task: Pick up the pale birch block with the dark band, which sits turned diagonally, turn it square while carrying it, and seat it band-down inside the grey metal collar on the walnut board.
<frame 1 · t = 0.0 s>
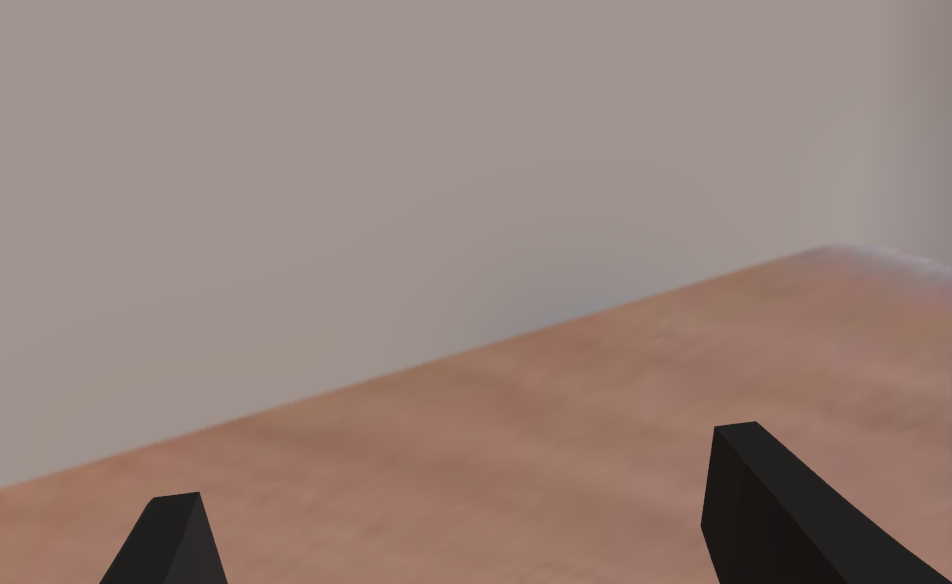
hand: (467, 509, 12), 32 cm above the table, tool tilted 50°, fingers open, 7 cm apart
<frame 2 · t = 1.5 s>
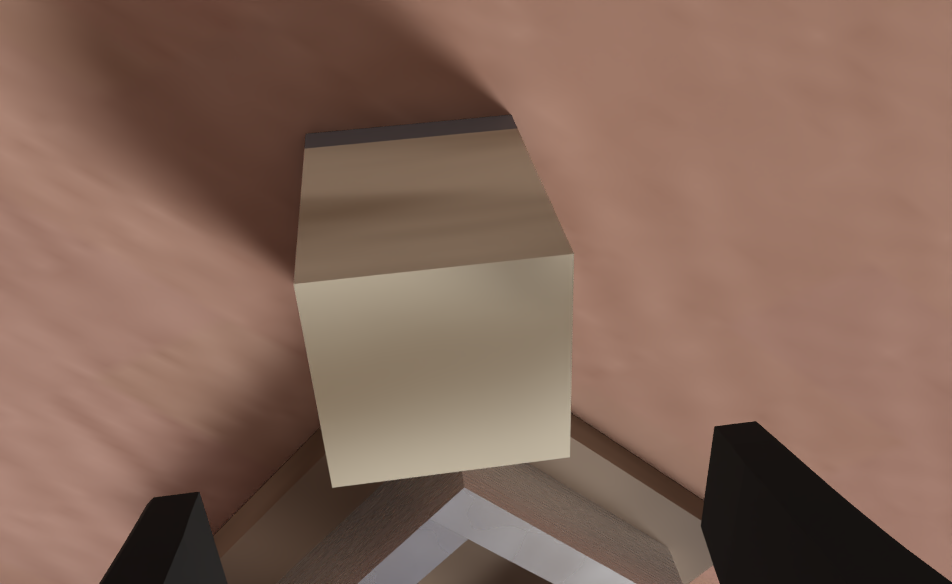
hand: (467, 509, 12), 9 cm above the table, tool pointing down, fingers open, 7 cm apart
sleeve block: (417, 214, 20), on the table
collar board: (460, 542, 26), on the table
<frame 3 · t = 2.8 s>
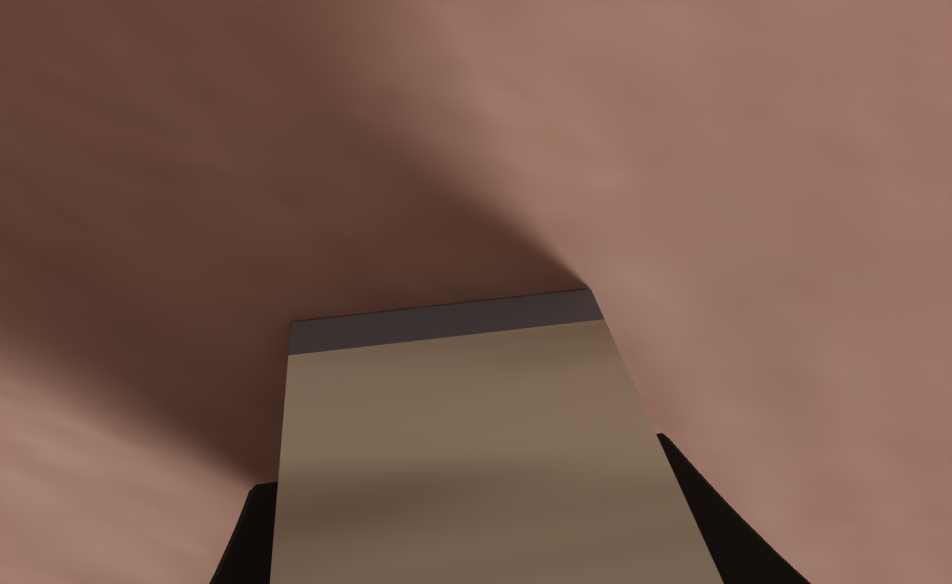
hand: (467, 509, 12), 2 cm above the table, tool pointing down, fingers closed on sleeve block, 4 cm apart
sleeve block: (452, 419, 14), on the table, touching gripper
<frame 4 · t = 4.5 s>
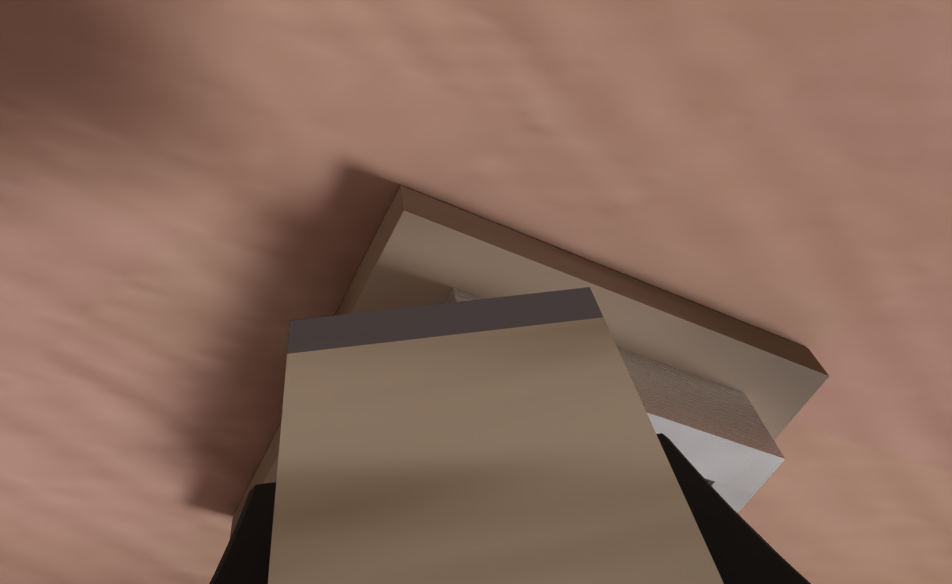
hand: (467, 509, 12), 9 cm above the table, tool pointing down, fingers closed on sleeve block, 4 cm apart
sleeve block: (451, 417, 14), point 7 cm above the table, touching gripper
collar board: (516, 433, 24), on the table
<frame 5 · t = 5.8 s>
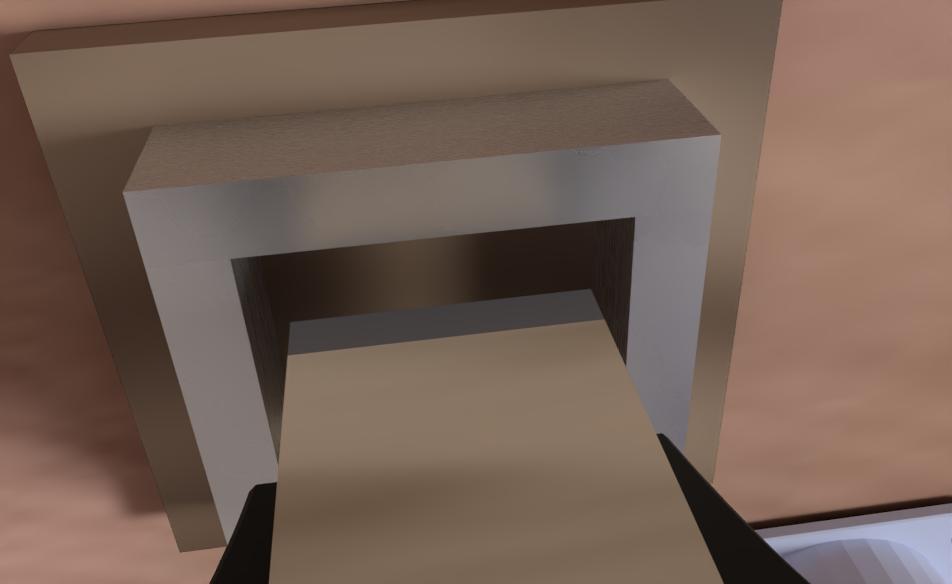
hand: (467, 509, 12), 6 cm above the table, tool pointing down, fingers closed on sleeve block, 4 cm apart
sleeve block: (451, 419, 14), point 4 cm above the table, touching gripper
collar board: (430, 280, 17), on the table
when the fingers open (5 cm above the table, at t = 6.6 s): sleeve block drops 2 cm, resting on collar board.
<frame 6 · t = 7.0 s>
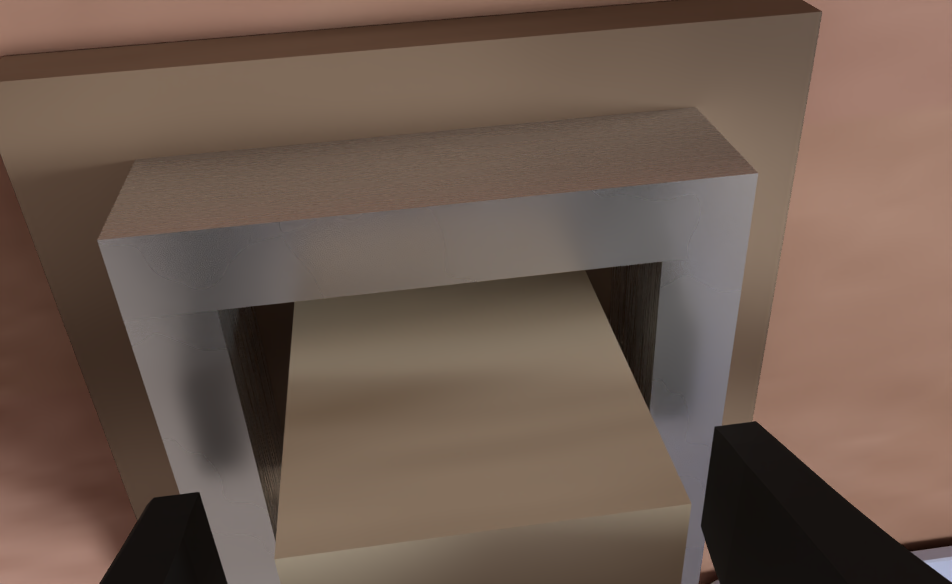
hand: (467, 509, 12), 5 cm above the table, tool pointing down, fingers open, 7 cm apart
sleeve block: (443, 354, 15), point 1 cm above the table, touching collar board
collar board: (435, 317, 16), on the table
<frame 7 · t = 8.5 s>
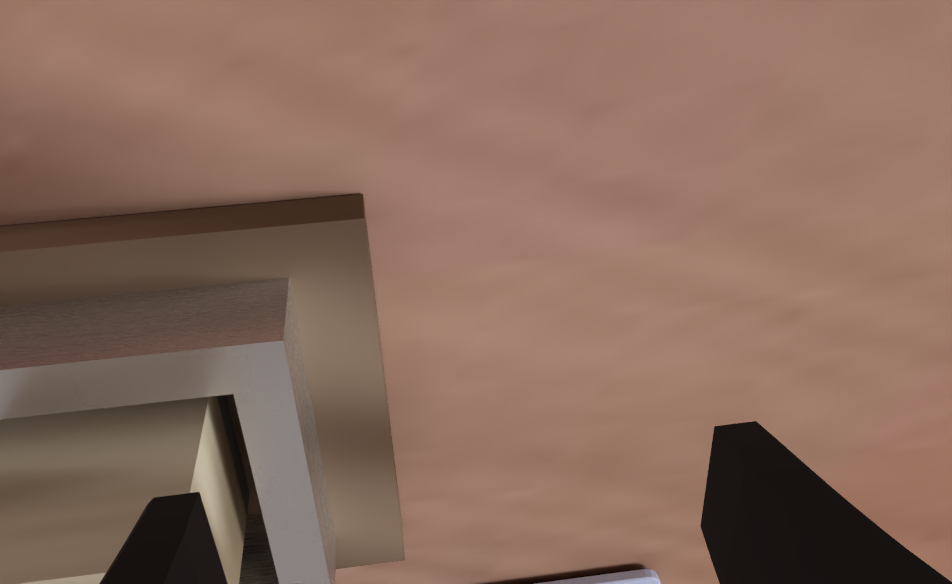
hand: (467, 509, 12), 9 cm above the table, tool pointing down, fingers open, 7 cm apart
sleeve block: (142, 439, 21), point 1 cm above the table, touching collar board
collar board: (150, 408, 22), on the table
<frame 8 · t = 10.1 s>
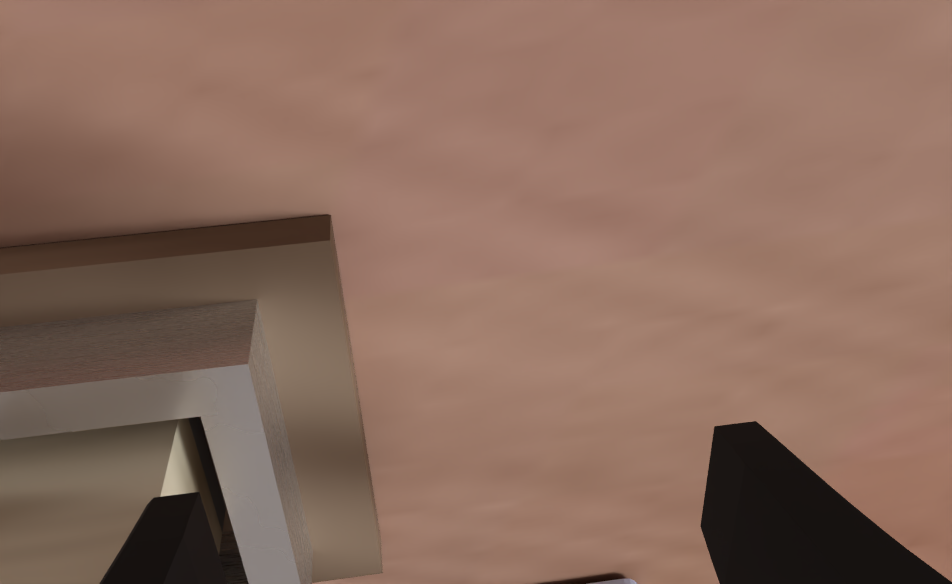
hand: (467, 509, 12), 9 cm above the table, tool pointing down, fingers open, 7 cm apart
sleeve block: (117, 458, 21), point 1 cm above the table, touching collar board
collar board: (126, 426, 22), on the table
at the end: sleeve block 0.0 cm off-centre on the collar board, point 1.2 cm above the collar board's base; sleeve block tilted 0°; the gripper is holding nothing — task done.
